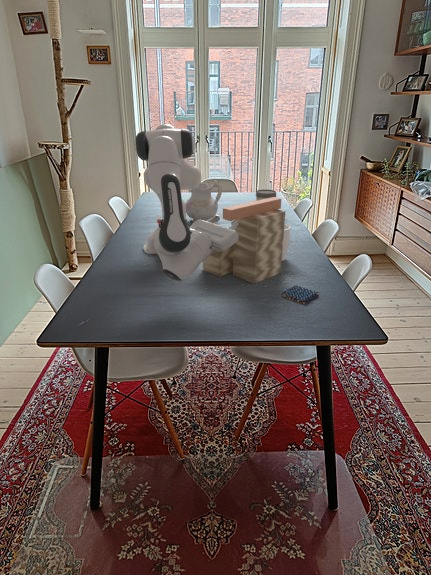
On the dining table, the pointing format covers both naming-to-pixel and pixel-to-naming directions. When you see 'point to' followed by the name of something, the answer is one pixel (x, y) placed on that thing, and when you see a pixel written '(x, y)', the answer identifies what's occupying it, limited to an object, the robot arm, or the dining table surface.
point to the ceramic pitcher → (203, 201)
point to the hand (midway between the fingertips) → (227, 219)
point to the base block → (219, 262)
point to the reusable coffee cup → (265, 194)
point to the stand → (259, 246)
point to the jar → (286, 241)
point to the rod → (251, 208)
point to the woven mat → (300, 294)
